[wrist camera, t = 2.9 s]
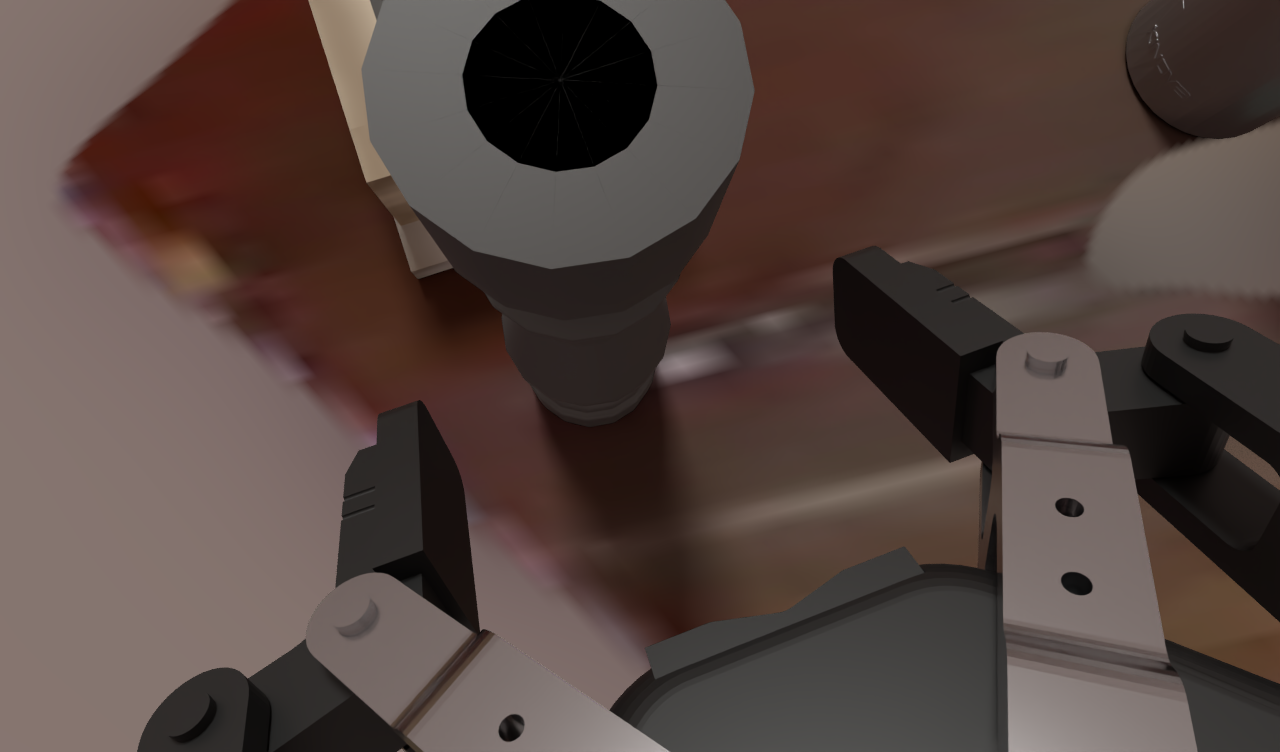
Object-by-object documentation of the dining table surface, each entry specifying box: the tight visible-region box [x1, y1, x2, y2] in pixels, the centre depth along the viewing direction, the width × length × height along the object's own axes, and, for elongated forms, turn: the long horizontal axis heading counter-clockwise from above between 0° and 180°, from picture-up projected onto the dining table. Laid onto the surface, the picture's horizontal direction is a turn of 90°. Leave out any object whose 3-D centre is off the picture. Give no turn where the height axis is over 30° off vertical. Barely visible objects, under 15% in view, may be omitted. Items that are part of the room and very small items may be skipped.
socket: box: [309, 0, 453, 279], centre depth 34 cm, size 14×18×6 cm
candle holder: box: [361, 0, 754, 427], centre depth 22 cm, size 6×6×25 cm
